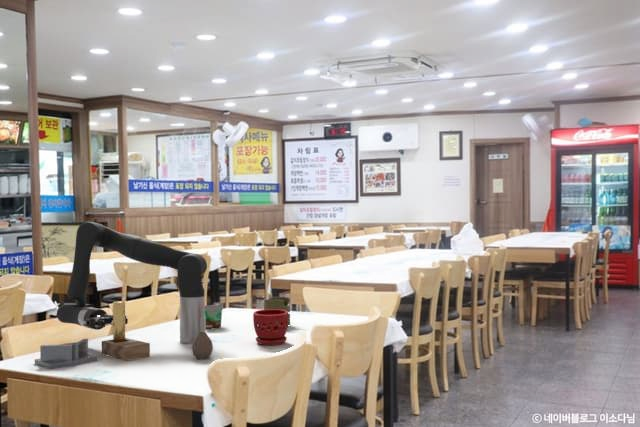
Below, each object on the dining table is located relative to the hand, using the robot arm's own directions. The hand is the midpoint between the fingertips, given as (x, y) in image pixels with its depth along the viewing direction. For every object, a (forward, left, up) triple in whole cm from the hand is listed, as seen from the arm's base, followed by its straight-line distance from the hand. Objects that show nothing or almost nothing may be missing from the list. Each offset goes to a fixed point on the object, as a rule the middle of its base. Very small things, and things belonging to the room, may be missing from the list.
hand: (115, 322), depth 236 cm
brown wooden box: (-5, +5, -11) cm, 12 cm away
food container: (-29, -51, -11) cm, 60 cm away
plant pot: (-54, -14, -11) cm, 57 cm away
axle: (-2, +2, -11) cm, 11 cm away
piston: (-55, -53, -11) cm, 77 cm away
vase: (-32, +11, -11) cm, 35 cm away
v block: (+12, +15, -11) cm, 22 cm away
